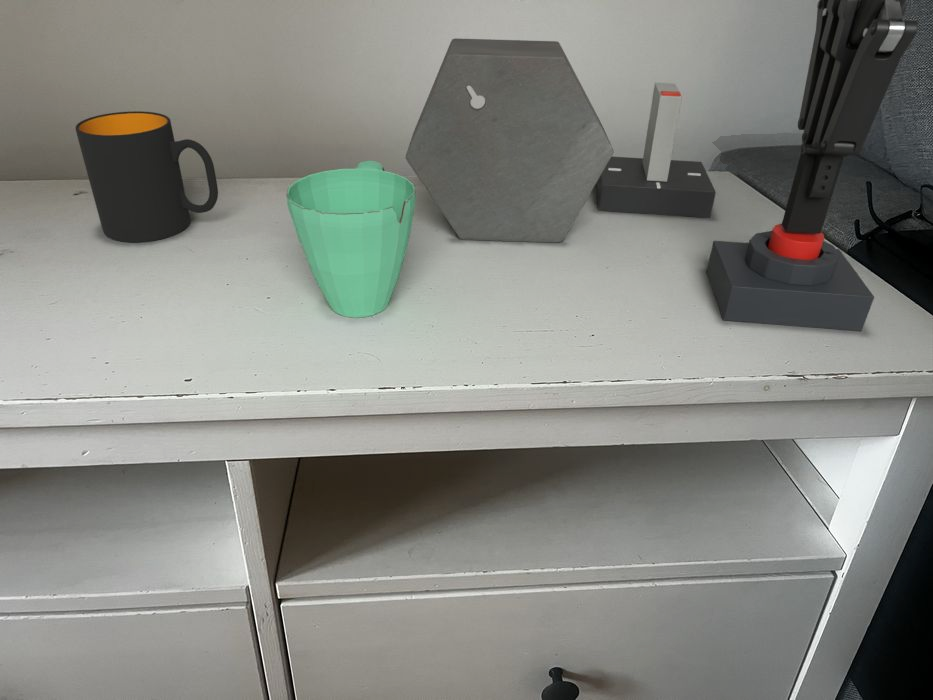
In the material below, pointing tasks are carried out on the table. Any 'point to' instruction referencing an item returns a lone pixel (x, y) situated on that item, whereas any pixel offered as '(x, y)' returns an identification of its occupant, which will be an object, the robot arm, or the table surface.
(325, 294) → the mug
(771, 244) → the button
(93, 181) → the mug
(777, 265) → the button block
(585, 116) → the grey hexagonal block
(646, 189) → the lever base
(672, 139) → the upright gray panel
